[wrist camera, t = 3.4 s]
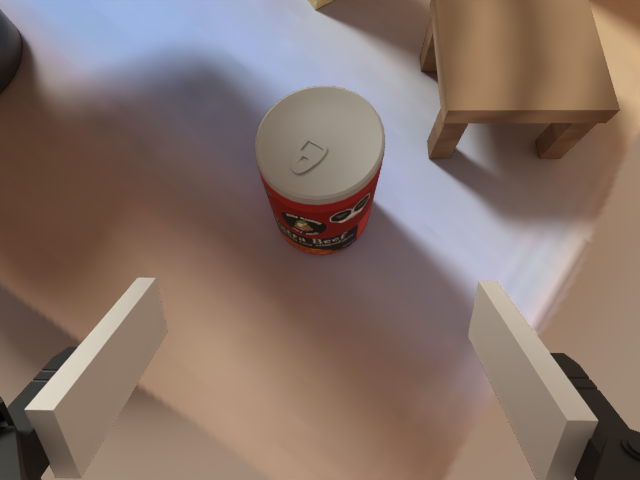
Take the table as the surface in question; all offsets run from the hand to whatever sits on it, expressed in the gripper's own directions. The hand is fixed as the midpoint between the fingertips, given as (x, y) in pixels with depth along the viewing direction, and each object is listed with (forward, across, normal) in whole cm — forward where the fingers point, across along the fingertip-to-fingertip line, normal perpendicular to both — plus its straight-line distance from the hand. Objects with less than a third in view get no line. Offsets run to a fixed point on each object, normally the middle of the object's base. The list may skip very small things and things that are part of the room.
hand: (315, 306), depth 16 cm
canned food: (+18, 0, -3) cm, 18 cm away
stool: (+25, +15, +5) cm, 30 cm away
